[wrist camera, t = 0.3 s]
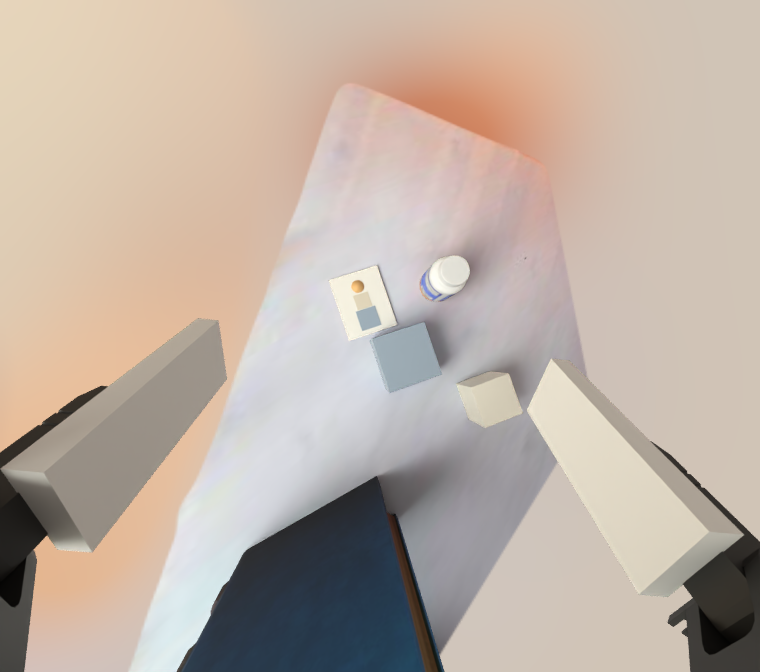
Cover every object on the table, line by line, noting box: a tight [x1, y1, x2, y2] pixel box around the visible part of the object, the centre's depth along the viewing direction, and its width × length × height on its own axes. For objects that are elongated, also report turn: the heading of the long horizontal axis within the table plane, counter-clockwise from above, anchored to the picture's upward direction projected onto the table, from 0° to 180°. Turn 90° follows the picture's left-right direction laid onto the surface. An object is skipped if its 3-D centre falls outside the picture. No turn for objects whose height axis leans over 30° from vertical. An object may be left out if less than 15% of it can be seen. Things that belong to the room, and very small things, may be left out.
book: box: [177, 477, 444, 672], centre depth 29 cm, size 24×9×30 cm, turn 117°
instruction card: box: [329, 266, 397, 341], centre depth 47 cm, size 10×8×1 cm
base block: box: [370, 322, 442, 393], centre depth 45 cm, size 8×8×5 cm
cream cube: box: [456, 371, 523, 428], centre depth 46 cm, size 6×6×6 cm
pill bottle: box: [420, 255, 470, 302], centre depth 44 cm, size 5×5×10 cm
